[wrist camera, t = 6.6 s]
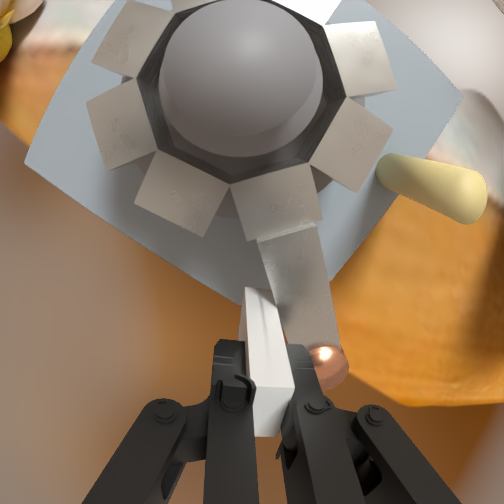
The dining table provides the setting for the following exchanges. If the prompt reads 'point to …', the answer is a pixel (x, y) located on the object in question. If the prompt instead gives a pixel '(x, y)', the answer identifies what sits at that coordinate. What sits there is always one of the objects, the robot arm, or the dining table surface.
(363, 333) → the dining table surface
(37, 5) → the decorative flower
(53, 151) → the base
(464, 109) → the dining table surface
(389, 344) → the dining table surface
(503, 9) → the jar
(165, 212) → the grey gear lever
